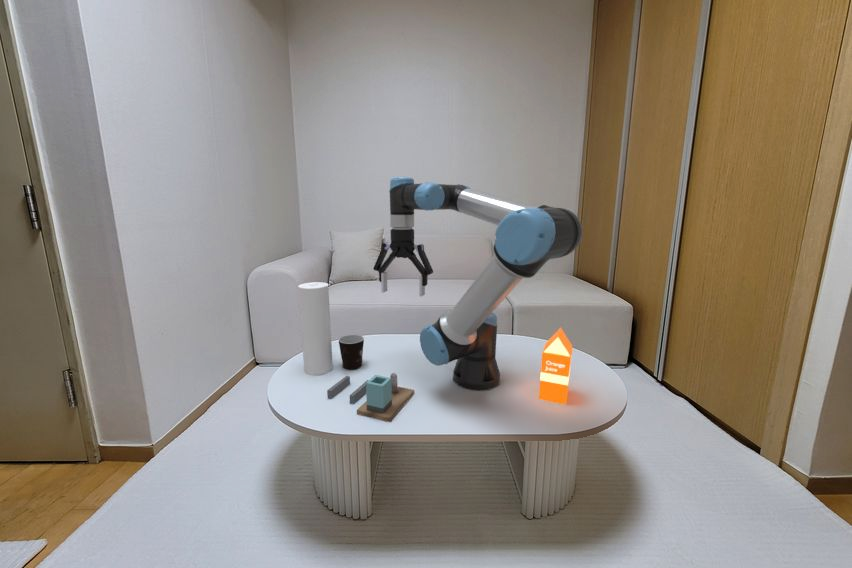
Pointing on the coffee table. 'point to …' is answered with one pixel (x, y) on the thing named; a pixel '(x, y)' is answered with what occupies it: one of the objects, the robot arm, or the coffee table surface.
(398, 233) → the robot arm
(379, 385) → the sleeve
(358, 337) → the coffee mug
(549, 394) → the orange juice
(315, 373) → the cylinder container
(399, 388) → the pin board
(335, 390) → the feeder rails
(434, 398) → the coffee table surface
